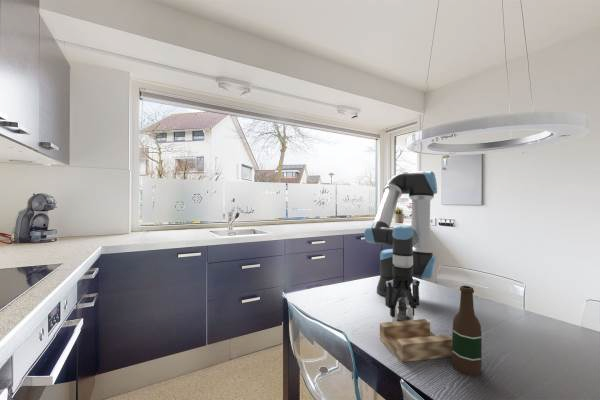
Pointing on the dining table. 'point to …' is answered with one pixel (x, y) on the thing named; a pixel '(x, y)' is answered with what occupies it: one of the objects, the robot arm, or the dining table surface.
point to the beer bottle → (466, 336)
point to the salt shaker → (402, 310)
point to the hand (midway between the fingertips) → (402, 324)
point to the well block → (414, 340)
